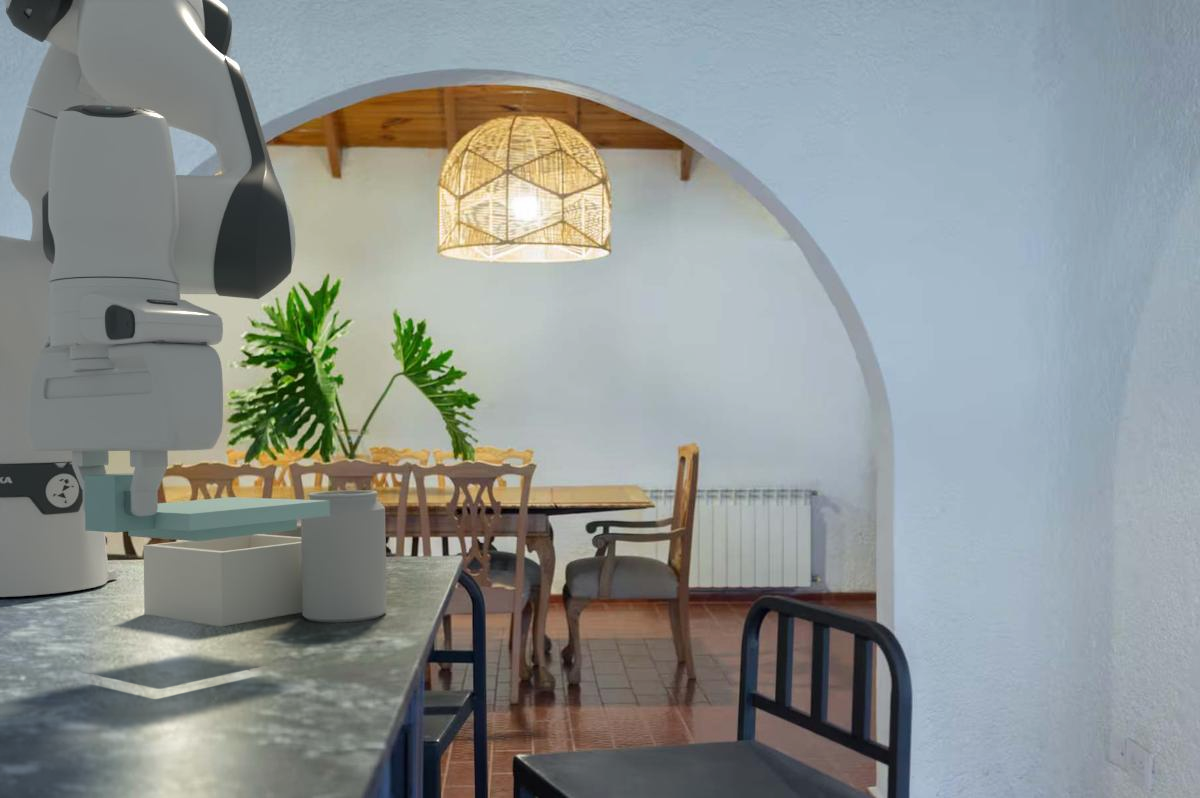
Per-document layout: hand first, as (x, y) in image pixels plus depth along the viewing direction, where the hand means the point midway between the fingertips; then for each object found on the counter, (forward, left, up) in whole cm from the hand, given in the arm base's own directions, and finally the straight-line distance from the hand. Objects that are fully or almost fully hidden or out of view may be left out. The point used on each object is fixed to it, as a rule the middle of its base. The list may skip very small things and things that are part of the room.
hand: (119, 514), depth 85 cm
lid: (0, +6, -2) cm, 7 cm away
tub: (-15, +21, -12) cm, 28 cm away
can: (-4, +24, -12) cm, 27 cm away
